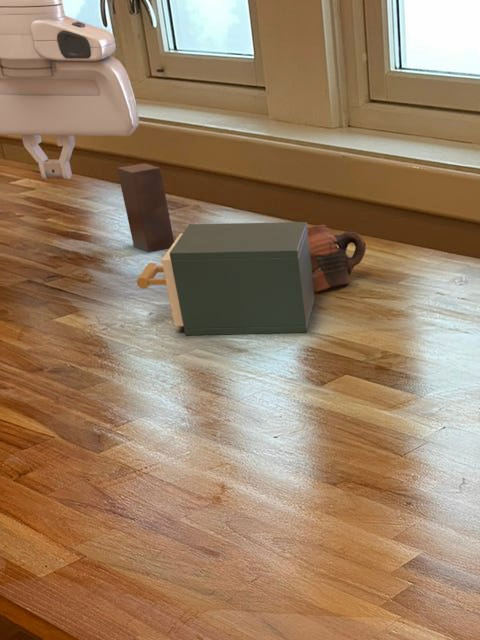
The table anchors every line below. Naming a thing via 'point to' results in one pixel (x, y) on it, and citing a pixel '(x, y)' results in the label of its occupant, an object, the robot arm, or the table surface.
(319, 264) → the pottery mug
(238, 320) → the cabinet
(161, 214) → the block
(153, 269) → the drawer
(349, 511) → the table surface
